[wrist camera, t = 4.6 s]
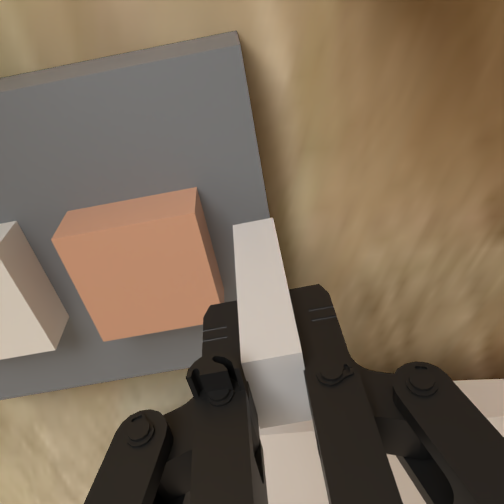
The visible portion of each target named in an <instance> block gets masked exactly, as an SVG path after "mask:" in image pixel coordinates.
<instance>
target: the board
mask: <svg viewBox="0 0 504 504" xmlns="http://www.w3.org/2000/svg"><path fill="white" fill-rule="evenodd" d="M453 382H454V383H455V384H456V385H457V386H458V387H459V388H460V390H461V391H462V392H463V393H464V394H465V395H466V396H467V397H468V398H469V399H470V401H471V402H472V403H473V404H474V405H475V406H476V407H477V408H478V409H479V411H480V412H481V413H482V414H483V415H484V416H485V417H486V418H487V419H488V421H489V422H490V423H491V424H492V425H493V426H494V427H495V428H496V429H497V430H498V432H499V433H500V434H501V435H502V436H503V437H504V379H483V380H459V381H453ZM259 436H260V440H261V444H262V447H263V455H264V465H265V476H266V486H267V496H268V504H329V501H328V496H327V491H326V486H325V481H324V477H323V472H322V467H321V462H320V457H319V454H318V448H317V442H316V437H315V431H314V425H313V420H309V421H303V422H298V423H292V424H286V425H280V426H274V427H268V428H262V429H260V427H259ZM387 457H388V460H389V463H390V466H391V469H392V472H393V475H394V478H395V481H396V484H397V487H398V490H399V493H400V496H401V499H402V502H403V504H426V502H425V501H424V499H423V498H422V496H421V494H420V493H419V491H418V490H417V488H416V487H415V485H414V484H413V482H412V480H411V479H410V477H409V476H408V474H407V473H406V471H405V470H404V468H403V466H402V465H401V463H400V462H399V460H398V459H397V457H396V455H390V454H387Z"/></svg>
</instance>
